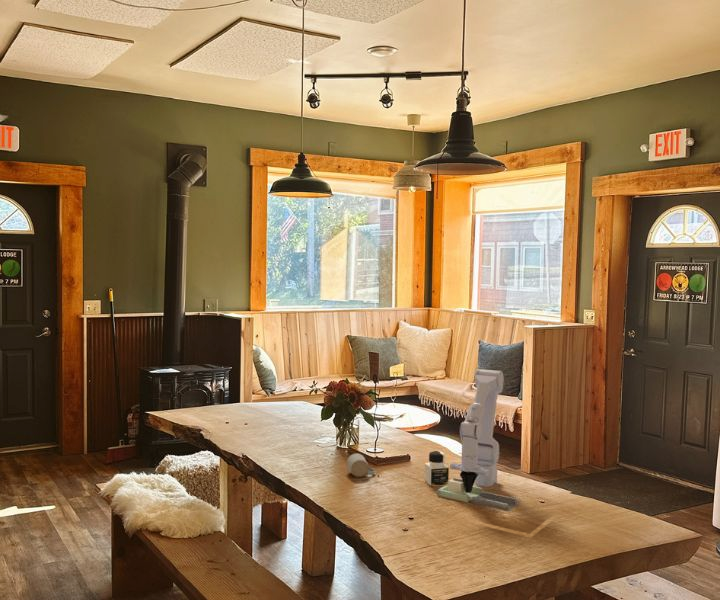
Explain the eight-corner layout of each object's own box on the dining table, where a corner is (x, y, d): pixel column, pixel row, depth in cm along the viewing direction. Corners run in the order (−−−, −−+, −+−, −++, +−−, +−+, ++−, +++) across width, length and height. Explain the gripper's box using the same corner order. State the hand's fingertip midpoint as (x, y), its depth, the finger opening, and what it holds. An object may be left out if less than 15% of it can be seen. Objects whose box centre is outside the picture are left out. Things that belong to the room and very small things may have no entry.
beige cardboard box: (454, 491, 274) (454, 476, 274) (466, 493, 272) (467, 478, 271) (448, 494, 270) (448, 479, 270) (460, 497, 268) (461, 482, 267)
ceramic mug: (350, 478, 290) (351, 459, 290) (346, 472, 298) (347, 453, 298) (377, 477, 293) (378, 458, 292) (372, 471, 301) (372, 452, 300)
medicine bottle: (430, 486, 282) (431, 455, 281) (424, 480, 289) (425, 450, 288) (448, 485, 284) (449, 454, 283) (441, 479, 291) (442, 449, 290)
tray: (452, 489, 279) (452, 481, 279) (482, 495, 273) (482, 487, 272) (437, 498, 269) (437, 489, 269) (467, 504, 263) (467, 496, 262)
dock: (482, 495, 273) (482, 489, 272) (521, 504, 264) (521, 497, 264) (467, 504, 263) (467, 498, 262) (507, 514, 254) (507, 506, 254)
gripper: (446, 453, 269) (445, 490, 270) (483, 460, 260) (482, 499, 261) (455, 449, 274) (454, 485, 275) (492, 456, 266) (490, 493, 267)
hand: (468, 492), depth 269 cm, fingers closed
